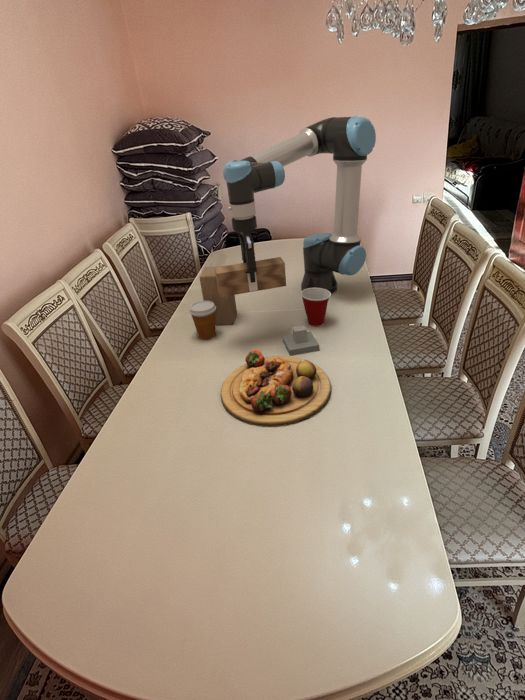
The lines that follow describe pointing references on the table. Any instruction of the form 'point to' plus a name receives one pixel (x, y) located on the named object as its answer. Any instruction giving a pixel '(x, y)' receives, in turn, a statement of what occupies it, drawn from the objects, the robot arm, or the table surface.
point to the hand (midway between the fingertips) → (251, 286)
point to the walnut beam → (236, 277)
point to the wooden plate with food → (275, 390)
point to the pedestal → (300, 341)
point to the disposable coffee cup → (204, 319)
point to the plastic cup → (315, 304)
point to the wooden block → (217, 298)
